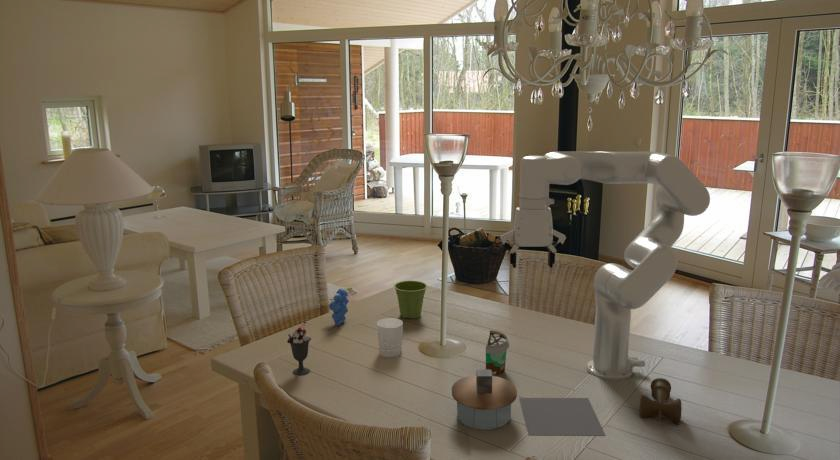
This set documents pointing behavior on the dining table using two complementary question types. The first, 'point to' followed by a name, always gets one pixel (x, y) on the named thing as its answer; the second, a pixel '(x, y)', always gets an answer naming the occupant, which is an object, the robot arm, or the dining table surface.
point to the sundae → (300, 349)
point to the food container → (496, 352)
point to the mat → (560, 417)
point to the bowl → (483, 417)
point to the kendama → (660, 402)
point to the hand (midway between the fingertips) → (532, 266)
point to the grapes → (339, 306)
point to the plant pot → (410, 298)
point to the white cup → (390, 337)
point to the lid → (484, 391)
